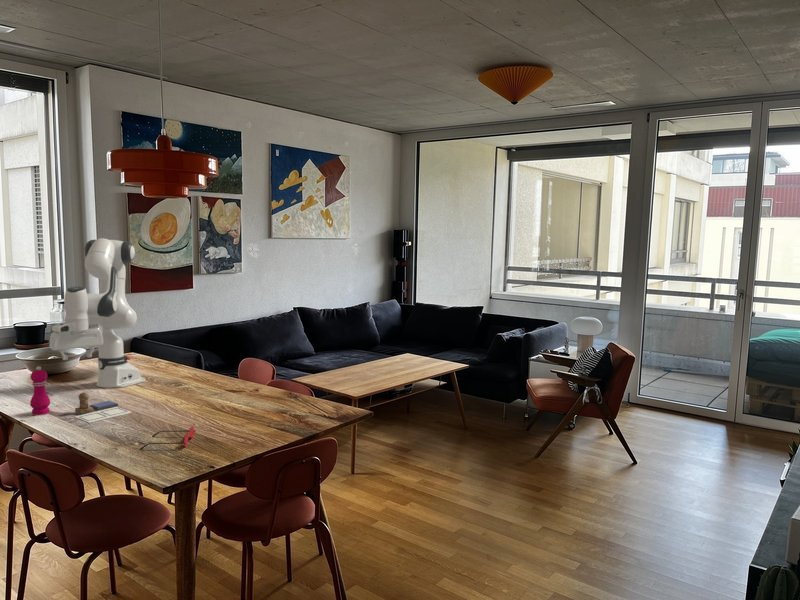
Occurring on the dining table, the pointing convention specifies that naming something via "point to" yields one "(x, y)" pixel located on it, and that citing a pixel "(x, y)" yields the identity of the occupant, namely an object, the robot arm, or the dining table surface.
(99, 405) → the ink pad
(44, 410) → the pepper mill
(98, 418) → the print card
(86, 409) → the stamp
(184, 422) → the dining table surface
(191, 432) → the glasses
